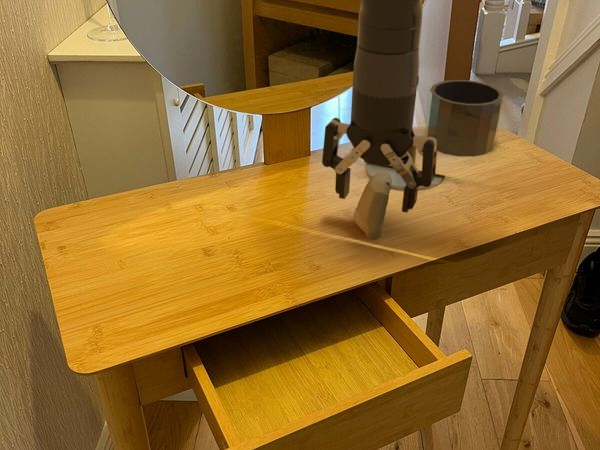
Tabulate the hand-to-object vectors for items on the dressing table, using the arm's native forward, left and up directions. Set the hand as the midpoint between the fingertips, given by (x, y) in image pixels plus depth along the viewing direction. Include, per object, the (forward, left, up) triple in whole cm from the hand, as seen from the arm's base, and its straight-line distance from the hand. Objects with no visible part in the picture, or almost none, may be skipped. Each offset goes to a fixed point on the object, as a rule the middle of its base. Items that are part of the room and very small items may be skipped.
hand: (374, 202), depth 82 cm
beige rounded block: (0, 0, -5) cm, 5 cm away
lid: (0, -18, -4) cm, 19 cm away
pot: (-6, -30, -5) cm, 31 cm away
